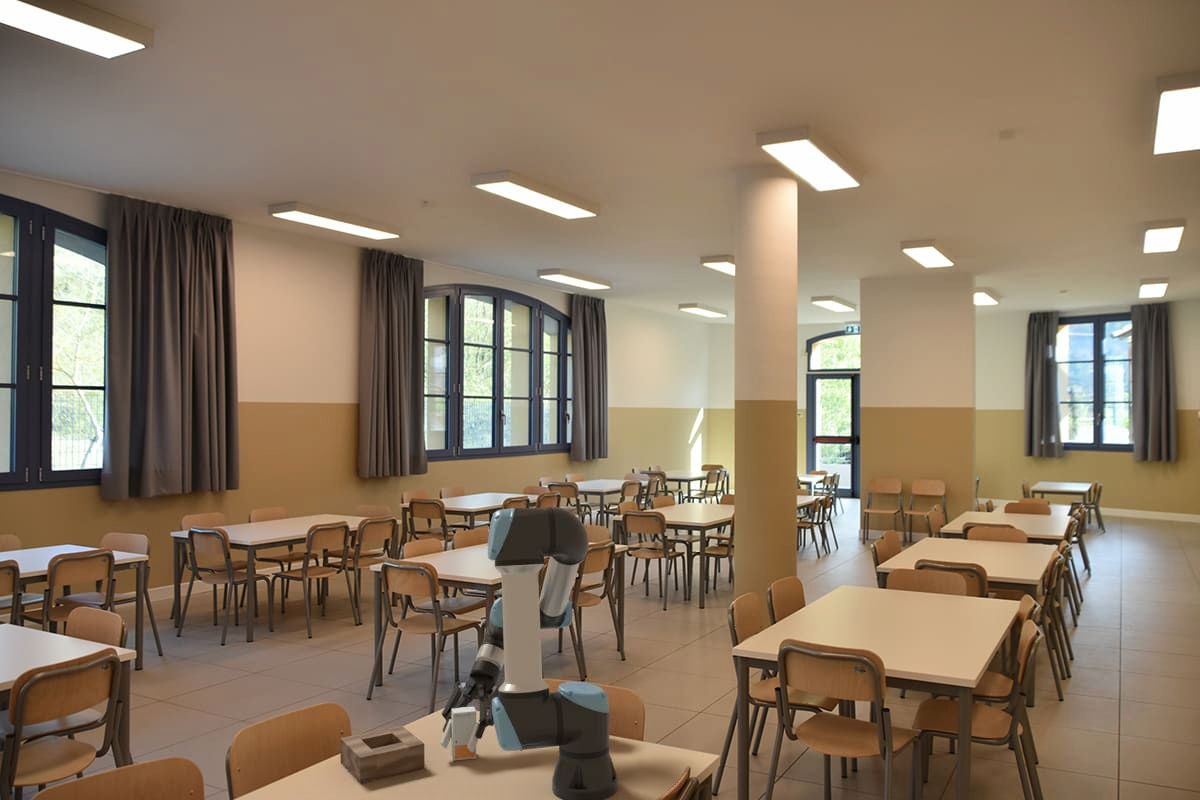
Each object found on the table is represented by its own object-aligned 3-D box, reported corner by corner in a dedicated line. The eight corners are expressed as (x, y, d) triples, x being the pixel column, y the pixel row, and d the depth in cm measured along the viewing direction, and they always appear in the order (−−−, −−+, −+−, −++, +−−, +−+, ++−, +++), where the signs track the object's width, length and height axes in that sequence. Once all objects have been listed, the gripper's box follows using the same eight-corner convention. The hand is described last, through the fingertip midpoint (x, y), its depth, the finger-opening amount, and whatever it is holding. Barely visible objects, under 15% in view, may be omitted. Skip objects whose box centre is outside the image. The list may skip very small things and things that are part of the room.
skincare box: (452, 761, 214) (452, 713, 214) (451, 755, 218) (450, 708, 218) (477, 758, 215) (476, 710, 216) (475, 752, 219) (474, 705, 220)
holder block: (424, 768, 210) (424, 743, 210) (360, 783, 201) (360, 757, 201) (401, 748, 223) (401, 725, 223) (340, 762, 214) (340, 738, 215)
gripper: (525, 676, 228) (497, 760, 212) (461, 670, 235) (428, 750, 220) (516, 661, 223) (486, 745, 207) (450, 655, 231) (416, 736, 215)
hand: (456, 747), depth 213 cm, fingers closed on skincare box, 7 cm apart
